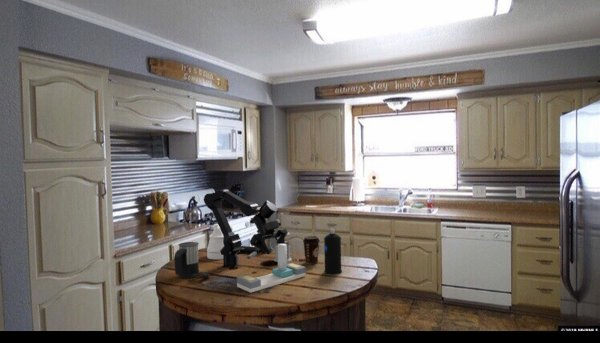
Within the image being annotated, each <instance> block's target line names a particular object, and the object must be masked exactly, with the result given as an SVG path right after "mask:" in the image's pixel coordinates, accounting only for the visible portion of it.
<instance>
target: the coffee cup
mask: <svg viewBox="0 0 600 343" xmlns="http://www.w3.org/2000/svg"><path fill="white" fill-rule="evenodd" d="M302 241H303V250H304V259H305V264H307V265H315V264H317V263H319V262H318V261H319V250H320V245H319V243H320V241H321V240H320V238H319V237H318V236H316V235H315V236H314V235H310V236H309V235H308V236H305V237H304V239H303V240H302Z"/></svg>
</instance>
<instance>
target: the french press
mask: <svg viewBox="0 0 600 343" xmlns="http://www.w3.org/2000/svg"><path fill="white" fill-rule="evenodd" d="M279 215H280V216H284V215H285V214H284V213H283V212H280V213H279ZM287 232H288V231H287ZM290 235H291V233H290V232H288V233H287V235H286V236H285V237H287V236H290ZM272 239H273V238H272ZM272 239H269V240H270V241H269V248H271V249H272V251H274V254H275V255H274V259H273V261H274V262H277V263H278V247H277V245H278V243H277V240H275V245H274V246H275V248H273V247H272V244H271V242H272ZM285 244H286V247H287V263H288V262H291V261H292V260H293V259H292V258H291V244H290V240H288V239H285Z"/></svg>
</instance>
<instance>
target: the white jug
mask: <svg viewBox="0 0 600 343" xmlns="http://www.w3.org/2000/svg"><path fill="white" fill-rule="evenodd" d="M213 228H214V230H213V231H212V233H211V234H210V235H209V237H208V238H209V241H208V246H207V248H206V249H207V250H206V254H207V255H206V258H207V259H208V260H223V255H221V252H220V250H221V249H222V248H223V247H224V244H223V238H224V236H223V234H222V232H221V229H220V227H219V225H218V223H216V224H213Z"/></svg>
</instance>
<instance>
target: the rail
mask: <svg viewBox="0 0 600 343" xmlns="http://www.w3.org/2000/svg"><path fill="white" fill-rule="evenodd" d="M287 268H288V269H291V270H293V274H292V275H289V276H285V277H280V276H277V275H274V274H272V273H269V274H265V275H261V276H257V277H254V276H252V275H249V274H244V275H239V276H237V277H236V287H237V288H238V289H239V288H240V289H242V290H244V291H245V292H249V293H250V294H251V293H254V292H255V293H256V292H257V291H261V290H264V289H267V288H271V287H275V286H277V285H280V284H283V283H288V282H291V281H294V280H297V279H301V278H303V277H306V276H307V269H306V268H307V267H306V266H303V265H301V264H297V263H293V262H289V263H287Z"/></svg>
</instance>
